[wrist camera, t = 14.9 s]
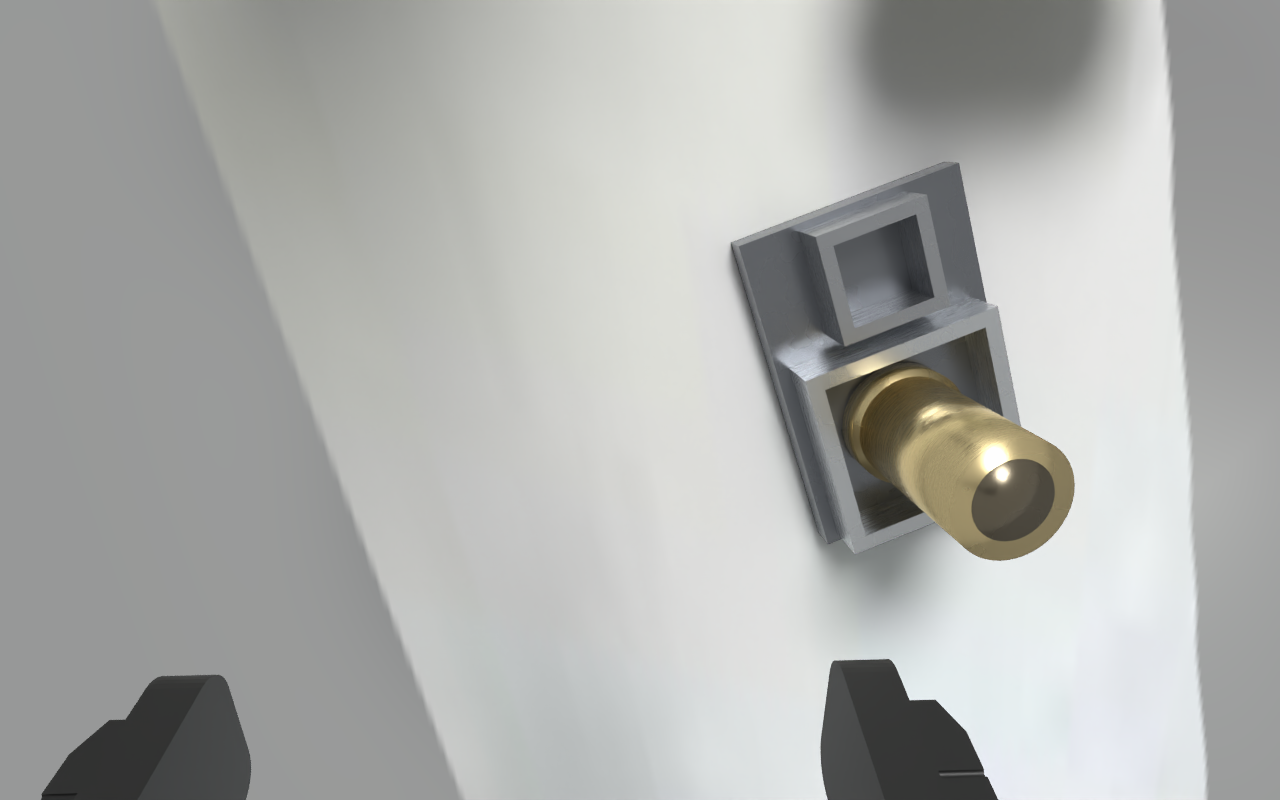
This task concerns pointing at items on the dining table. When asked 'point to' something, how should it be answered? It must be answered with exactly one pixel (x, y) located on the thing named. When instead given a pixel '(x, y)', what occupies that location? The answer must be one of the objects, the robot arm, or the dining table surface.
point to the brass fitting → (959, 461)
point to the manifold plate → (871, 330)
